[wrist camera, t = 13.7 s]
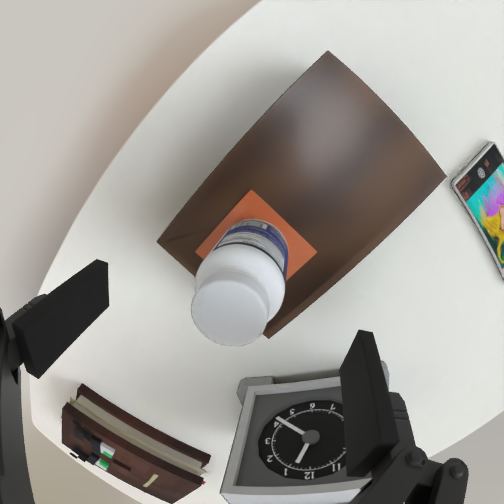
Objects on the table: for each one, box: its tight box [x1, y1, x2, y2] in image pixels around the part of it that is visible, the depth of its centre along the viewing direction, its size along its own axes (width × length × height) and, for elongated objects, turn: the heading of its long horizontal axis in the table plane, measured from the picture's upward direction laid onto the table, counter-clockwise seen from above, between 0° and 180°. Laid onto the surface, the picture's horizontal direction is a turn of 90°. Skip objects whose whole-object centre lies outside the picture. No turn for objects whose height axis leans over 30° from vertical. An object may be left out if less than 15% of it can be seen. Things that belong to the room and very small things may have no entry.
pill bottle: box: [191, 219, 289, 346], centre depth 20 cm, size 5×5×10 cm
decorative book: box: [61, 384, 211, 504], centre depth 43 cm, size 19×8×30 cm
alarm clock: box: [220, 361, 389, 504], centre depth 28 cm, size 18×13×18 cm
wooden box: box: [157, 51, 447, 339], centre depth 25 cm, size 13×21×5 cm, turn 138°
